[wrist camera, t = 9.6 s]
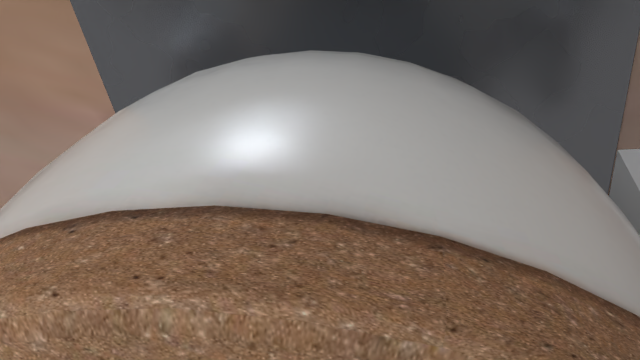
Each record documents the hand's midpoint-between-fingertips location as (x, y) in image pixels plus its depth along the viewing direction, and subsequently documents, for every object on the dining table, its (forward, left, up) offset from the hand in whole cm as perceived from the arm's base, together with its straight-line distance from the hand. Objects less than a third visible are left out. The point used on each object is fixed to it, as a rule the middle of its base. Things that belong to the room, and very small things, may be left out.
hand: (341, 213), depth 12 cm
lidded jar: (0, 0, -1) cm, 1 cm away
